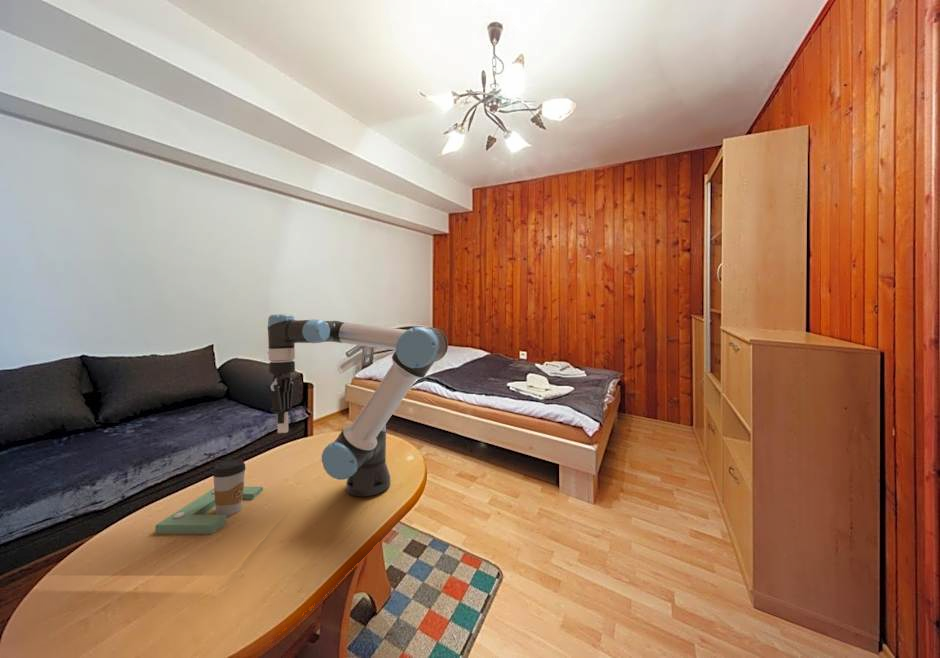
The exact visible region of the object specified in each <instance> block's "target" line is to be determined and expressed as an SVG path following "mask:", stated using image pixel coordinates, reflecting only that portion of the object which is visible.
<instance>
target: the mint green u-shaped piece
mask: <svg viewBox="0 0 940 658" xmlns="http://www.w3.org/2000/svg"><path fill="white" fill-rule="evenodd" d="M262 491H264V487H263V486H244V489H243V498H242V500H255V498H256V497H258V495H260V494H261V493H262ZM215 507H216V504H215V494H214V488H212V489H210V490H209V491H207V492H206V493H204V494H202V495H201V496H199V497H198V498H196V499H195V500H193V501H191V502H189V503H188V504H186V505H185V506H183V507H182V508H180V509H178V510H177V511H176V512H174V513H172V514H171V515H169V516H168V517H166V518H164V519H163V520H161V521H160V522H158V523H156V524H155V535H213V534H216V532H217V531H219V530H220V529H222V527H224V526H225V525H226V524H227V517H226V515H217V514H207V513H208V512H210V511H211V509H213V508H215Z"/></svg>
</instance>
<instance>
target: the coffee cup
mask: <svg viewBox="0 0 940 658" xmlns="http://www.w3.org/2000/svg"><path fill="white" fill-rule="evenodd" d="M244 462H245V461H244V460H243V459H239V458H238V459H237V458H236V459H229V460H225V461H222V462H220V463H218V464H216V465H215V466H214V469H213V470H212V476H213V489H214V494H215V504H216V505H215V515H226V518H227V517H230V516H233V515H236V514H237V513H239V512H240V511H241V508H242V507H243V499H242V498H243V489H244V487H245V474H246V473H245V471H246V463H244Z"/></svg>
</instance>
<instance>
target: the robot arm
mask: <svg viewBox="0 0 940 658" xmlns="http://www.w3.org/2000/svg"><path fill="white" fill-rule="evenodd" d="M267 336H268V337H267V338H268V351H267V354H268V361H270V362H269V363H268V374H270V375H272V383H271V384H268V386H267V388H268V391H269V395H270V396H269V397H270V401H271V408H272V413H273V414H277V416H276V418H277V419H276V420H277V434H287V433H288V432H289V412H292V407H293V399H294V398H293V397H294V386H295V382H296V379H294V378H293V379H292V375H291V374H292V373H295V371H296V361H294V360H295V359H296V353H295V352H296V350H295V344H321V343H325V342H328V343H330V342H332V343H339V344H350V345H355V346H363V347H370V348H379V349H385V350H392V351H394V353H393V354H392V356H391V360H392V361H391V362H392V365H391V366H390V367H389V369H388V370H387V372H386V374H385V376H384V377H382V380H381V381H380V383H379V384H378V385H377V387H376V389H375V390H374V392H373V393H372V395H370V397H369V399H368V400H367V402H366V403H365V404H364V406H363V408H362V409H361V410H360V412H359V414H358V415H357V416H356V418H355V419H354V421H353V423H348V424H346V425H345V426H344V427H343V429H342V430H341V431H340V433H339V434H338V436H337V437H336V439H335V440H334V441H332V442H330V443H329V444H328V445H327V446H325V448H324V449H323V451H322V454H321V462H322V466H323V469H324V471H325V472H326V474H327V475H329V476H330V477H331V478H332V479H334V480H335V479H336V480H341V481H342V480H346V482H345V483H346V484H345V485H346V486H345V487H346V488H345V489H346V490H345V491H346V492H347V493H348V494H350V495H351V496H355V497H369V496H375V495H377V494H380V493H382V492H385V491H386V490H387V489H389V487H390V486H391V474H390V472H389V468H388V465H387V462H386V456H387V455H386V454H387V451H386V450H387V449H386V448H387V447H386V446H387V429H386V428H387V427H386V426H387V423H388V421H389V420H390V418H391V417H392V415H393V414H394V412H395V411H396V410H397V408H398V407H399V405H400V404H401V403H402V402H403V400H404V398H405V397H406V395H407V393H408V392H409V391H410V390H411V387H413V385H414V384H415V382H416V381H417V380H418V379H424V377H425V376H426V375H427V373H428V372H429V371H430V369H431V367H432V366H433V365H434V364H435V363H436V362H438V361H440V360H442V359H443V358H444V357H445V356H446V354H447V352H448V349H449V342H448V341H449V340H448V338H447V335H446V334H445V333H444V332H443V331H442V330H441V329H439V328H437V327H434V326H433V327H432V326H431V327H429V326H428V327H426V326H414V327H411V328H409V329H401V328H394V327H386V326H378V325H377V326H376V325H369V324H360V323H351V322H343V321H339V320H323V319H315V318H314V319H302V320H301V319H300V320H296V319H295V316H294V315H292V314H281V313H280V314H270V315H269V317H268V321H267Z"/></svg>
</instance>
